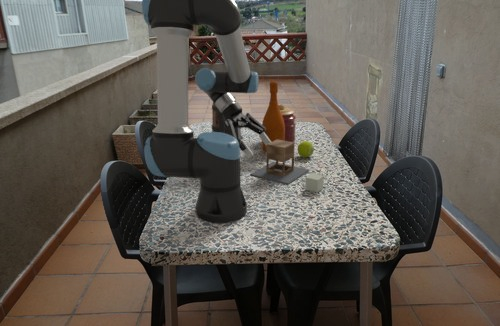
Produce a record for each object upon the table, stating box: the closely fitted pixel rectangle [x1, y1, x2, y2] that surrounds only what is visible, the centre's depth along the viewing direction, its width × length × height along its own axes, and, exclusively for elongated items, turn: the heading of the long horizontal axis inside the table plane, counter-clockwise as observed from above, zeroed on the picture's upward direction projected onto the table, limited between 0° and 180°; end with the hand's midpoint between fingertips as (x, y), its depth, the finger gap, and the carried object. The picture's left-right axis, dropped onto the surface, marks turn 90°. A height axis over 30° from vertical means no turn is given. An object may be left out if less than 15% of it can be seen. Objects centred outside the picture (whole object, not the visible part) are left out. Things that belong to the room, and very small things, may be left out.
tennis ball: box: [297, 140, 315, 158], centre depth 162 cm, size 7×7×7 cm
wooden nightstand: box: [265, 139, 295, 177], centre depth 144 cm, size 7×7×11 cm
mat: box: [250, 161, 310, 186], centre depth 146 cm, size 16×16×1 cm
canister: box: [279, 104, 297, 143], centre depth 181 cm, size 13×13×18 cm
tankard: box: [211, 95, 244, 141], centre depth 184 cm, size 24×17×20 cm
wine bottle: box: [261, 80, 285, 154], centre depth 166 cm, size 10×10×30 cm
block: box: [304, 172, 325, 193], centre depth 132 cm, size 4×4×4 cm
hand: (261, 151), depth 149 cm, fingers open, 13 cm apart
